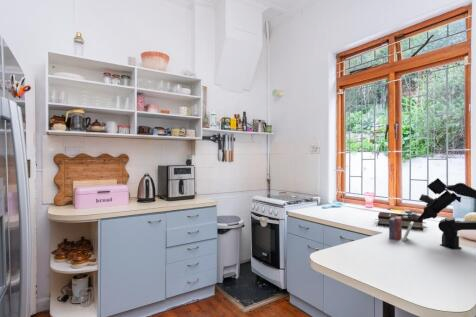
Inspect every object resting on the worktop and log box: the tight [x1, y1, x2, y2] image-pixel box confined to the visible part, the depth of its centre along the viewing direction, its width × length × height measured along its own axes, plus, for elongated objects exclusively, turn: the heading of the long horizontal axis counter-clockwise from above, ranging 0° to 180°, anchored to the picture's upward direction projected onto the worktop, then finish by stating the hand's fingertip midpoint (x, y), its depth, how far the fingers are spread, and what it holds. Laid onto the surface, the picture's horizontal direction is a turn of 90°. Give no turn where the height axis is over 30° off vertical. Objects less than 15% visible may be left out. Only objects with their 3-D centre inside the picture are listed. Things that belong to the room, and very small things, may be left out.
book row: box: [388, 216, 403, 241], centre depth 156 cm, size 5×8×12 cm, turn 142°
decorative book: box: [375, 211, 426, 231], centre depth 188 cm, size 19×8×30 cm
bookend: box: [402, 221, 414, 242], centre depth 152 cm, size 1×8×10 cm, turn 141°
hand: (418, 219), depth 149 cm, fingers closed
